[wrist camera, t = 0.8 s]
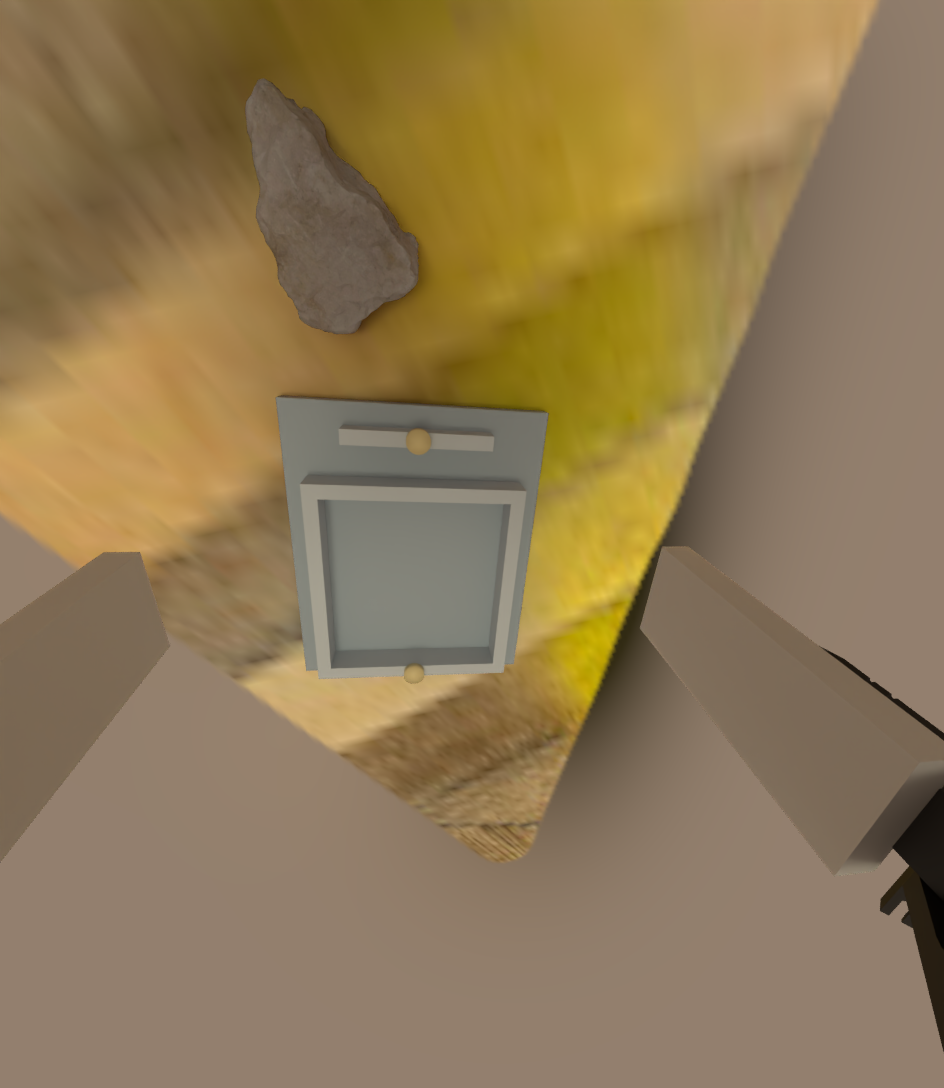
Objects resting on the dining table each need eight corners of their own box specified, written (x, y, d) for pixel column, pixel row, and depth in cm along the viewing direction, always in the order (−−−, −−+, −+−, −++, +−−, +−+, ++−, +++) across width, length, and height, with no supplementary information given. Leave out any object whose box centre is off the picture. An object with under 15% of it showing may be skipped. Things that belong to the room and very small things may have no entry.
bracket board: (281, 395, 28) (261, 402, 24) (543, 411, 31) (561, 419, 27) (309, 661, 37) (298, 694, 33) (510, 655, 40) (520, 686, 36)
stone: (330, 354, 27) (309, 354, 22) (217, 186, 23) (158, 135, 18) (436, 283, 27) (440, 265, 21) (336, 95, 23) (312, 15, 17)
